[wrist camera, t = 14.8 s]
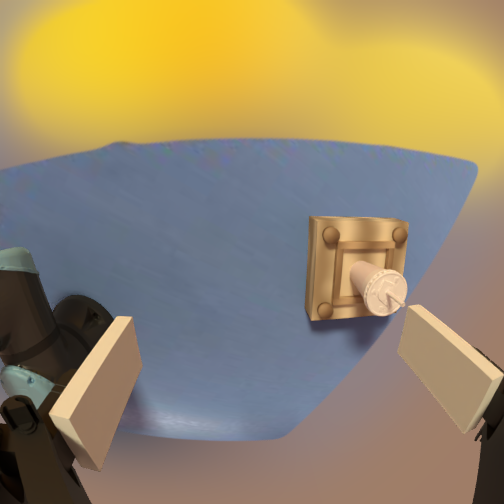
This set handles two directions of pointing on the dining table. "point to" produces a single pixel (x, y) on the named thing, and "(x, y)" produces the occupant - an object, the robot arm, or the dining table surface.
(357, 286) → the smoothie
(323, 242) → the base brick
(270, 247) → the dining table surface
